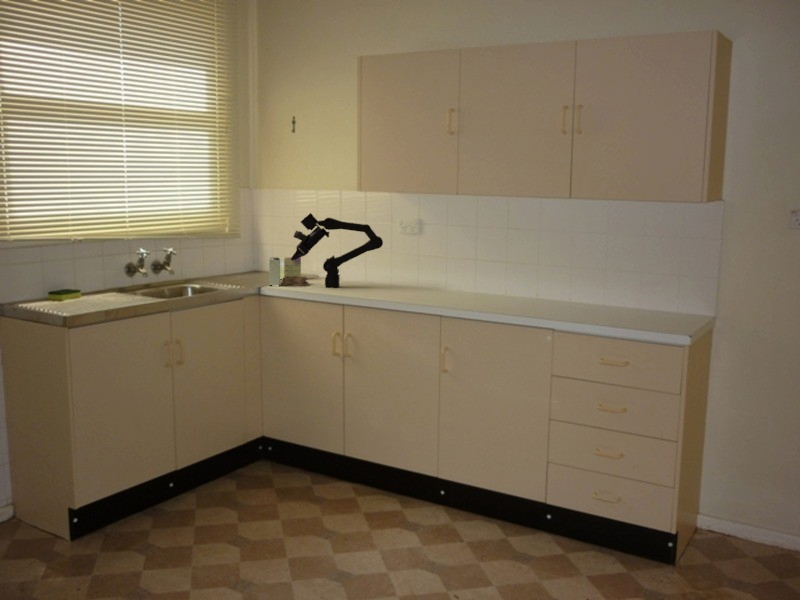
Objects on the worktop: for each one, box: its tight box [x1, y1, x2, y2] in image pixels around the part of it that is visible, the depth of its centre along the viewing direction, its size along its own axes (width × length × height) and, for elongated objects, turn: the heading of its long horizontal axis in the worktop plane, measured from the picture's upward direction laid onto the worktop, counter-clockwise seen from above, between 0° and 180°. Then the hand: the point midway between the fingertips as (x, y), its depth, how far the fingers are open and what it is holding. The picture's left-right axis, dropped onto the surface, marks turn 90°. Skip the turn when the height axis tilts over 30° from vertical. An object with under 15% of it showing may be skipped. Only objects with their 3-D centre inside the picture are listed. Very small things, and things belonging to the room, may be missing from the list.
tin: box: [268, 256, 281, 286], centre depth 397 cm, size 5×5×14 cm
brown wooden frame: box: [280, 276, 309, 287], centre depth 405 cm, size 12×10×4 cm
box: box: [278, 256, 302, 281], centre depth 422 cm, size 10×6×12 cm, turn 130°
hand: (292, 259), depth 397 cm, fingers open, 9 cm apart
